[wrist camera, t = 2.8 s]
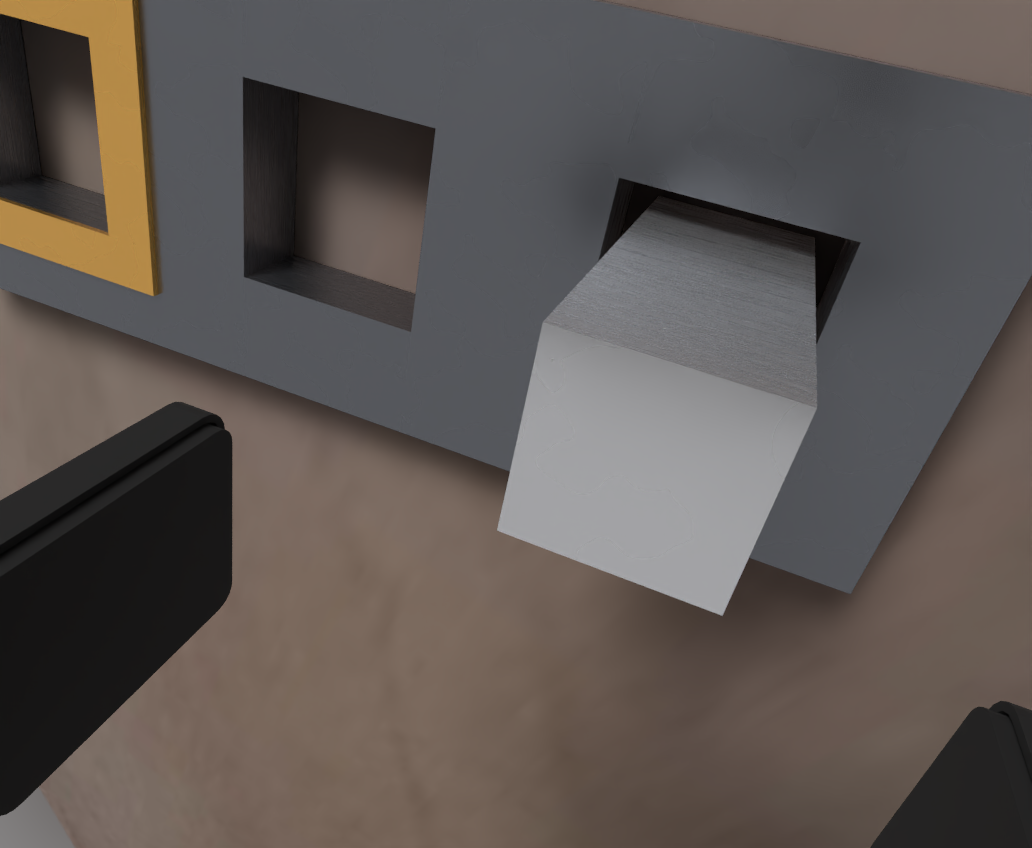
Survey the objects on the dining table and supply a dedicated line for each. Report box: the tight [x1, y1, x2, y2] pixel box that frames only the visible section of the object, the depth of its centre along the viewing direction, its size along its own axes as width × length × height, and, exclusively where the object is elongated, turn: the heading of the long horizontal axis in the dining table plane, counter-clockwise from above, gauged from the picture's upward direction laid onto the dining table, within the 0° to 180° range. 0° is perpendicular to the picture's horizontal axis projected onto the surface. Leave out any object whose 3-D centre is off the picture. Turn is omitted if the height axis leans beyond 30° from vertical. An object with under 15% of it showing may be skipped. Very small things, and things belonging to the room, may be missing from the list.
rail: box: [0, 0, 1032, 594], centre depth 21 cm, size 32×12×3 cm, turn 78°
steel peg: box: [497, 196, 817, 616], centre depth 16 cm, size 4×4×10 cm
